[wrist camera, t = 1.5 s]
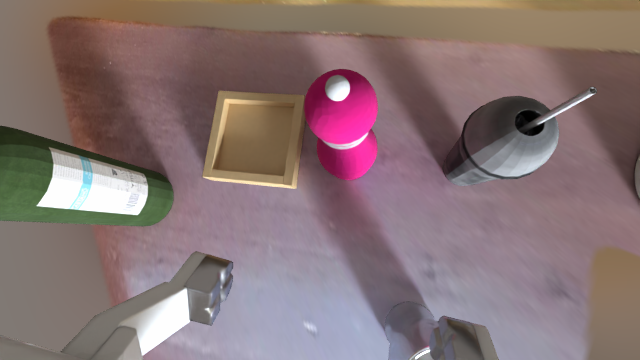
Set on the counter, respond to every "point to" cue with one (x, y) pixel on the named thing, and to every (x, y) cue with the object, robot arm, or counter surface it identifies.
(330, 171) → the pepper mill
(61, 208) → the wine bottle
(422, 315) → the beer glass
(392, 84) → the counter surface
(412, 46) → the counter surface
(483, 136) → the beverage cup
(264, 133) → the tray
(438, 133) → the counter surface
